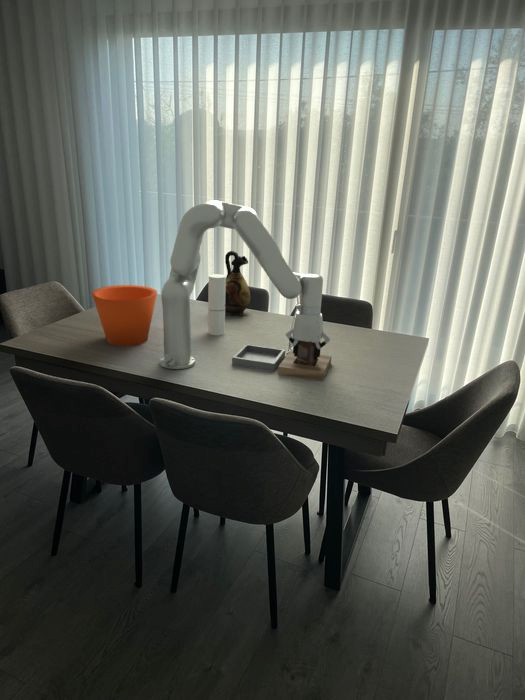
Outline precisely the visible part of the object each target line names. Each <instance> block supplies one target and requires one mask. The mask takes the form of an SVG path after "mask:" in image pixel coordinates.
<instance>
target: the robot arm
mask: <svg viewBox="0 0 525 700" xmlns="http://www.w3.org/2000/svg"><path fill="white" fill-rule="evenodd" d="M217 227H221V228H225V229H226V228H227V229H229V230H230V229H231V230H235V231H236V233H237V234H238V236H239V237H240V238H241V240H242V241H243V243H244V244H245V245H246V247H247V248H248V249H249V251H250V252H251V253H252V255H253V257H254V258H255V259H256V261H257V262H258V264H259V265H260V267H261V268H262V269H263V271H264V272H265V274H266V275H267V276H268V278H269V280H270V281H271V282H272V284H273V285H274V287H275V288H276V289H277V292H278V293H280V295H281V296H282V297H283V298H286V299H289V300H293V299H296V298H297V297H298V296H299V304H295V307H294V308H295V309H297V310H298V311H296V314H295V317H294V324H293V328H292V329H290V330H289V331H287V332H286V333H285V337H287V339H288V340H289V342H290V343H291V344H292V346H293V349H292V351H293V353H294V357H296V356H297V346H298V341H303V342H310V341H311V342H312V343H315V344H316V346H317V348H316V351H315V360H317V358H318V357H320V355H321V349H322V348H323V347H324V346H326V345H327V344H328V343H329V342H330V341H331V338H330V337H329V336H328V335H327V334H326V333H325V332H324V321H323V313H322V312H321V309H322V308H321V307H322V299H323V287H324V285H323V284H324V278H323V276H322V275H320V274H317V273H299V272H294V271H293V270H292V269H291V268H290V267H289V265H288V263H287V262H286V260H285V258H284V257H283V254H282V252H281V249H280V248H279V246H278V244H277V242H276V241H275V239H274V238H273V237H272V235H271V234H270V232H269V231H268V230H267V228H266V227H265V226H264V224H263V222H262V221H261V219H260V218H259V216H258V213H257V212H256V211H255V210H254V209H253V208H251V207H249V206H245V205H240V204H234V203H230V202H225V201H222V200H221V201H220V200H216V199H215V200H213V199H212V200H208V201H206V202H204V203H200V204H198V205H194V206H193V207H191V208H189V209H188V210H187V211H186V212H185V213H184V214H183V216H182V218H181V220H180V221H179V226H178V230H177V234H176V237H175V240H174V245H173V249H172V253H171V256H170V260H169V261H170V262H169V264H170V268H171V269H170V272H169V277H168V279H167V280H166V281H165V283H164V284H163V286H162V288H161V289H162V290H161V306H162V316H163V317H162V319H163V320H162V322H163V357H161V358H160V359H159V365H160V366H161V367H163V368H166V369H171V370H183V369H184V370H185V369H189V368H192V367H193V366H194V365H195V364H196V359H195V358H194V357H193V356H191V352H192V350H191V349H192V348H191V347H192V346H191V345H192V344H191V339H192V338H191V335H192V334H191V331H192V330H191V329H192V328H191V324H192V323H191V305H190V304H191V302H190V301H191V294H192V293H193V291H194V289H195V283H196V280H197V276H198V272H199V267H200V264H201V254H200V248H201V245H202V241H203V237H204V235H205V232H206V231H208V230H209V229H215V228H217ZM322 339H324V340H323V341H322Z"/></svg>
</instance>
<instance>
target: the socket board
mask: <svg viewBox="0 0 525 700" xmlns="http://www.w3.org/2000/svg"><path fill="white" fill-rule="evenodd" d="M296 359H297V356H296V357H294V353H293V349H291V350H289V351H288V353H287V354H286V355H285V357H284V359H283V360H282V361H281V363H280V364H279V365H278V367H277V370H278V371H277V375H279V376H286V377H294V378H300V379H306V380H311V381H319V382H323V381H324V378H325V377H326V376H327V375H326V374H327V373H328V370H329V368H330V366H331V363H332V355H326V354H320V357H318V358H317V360H316V361H315V367H314V366H308V365H301V364H296Z"/></svg>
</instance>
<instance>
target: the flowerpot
mask: <svg viewBox="0 0 525 700" xmlns="http://www.w3.org/2000/svg"><path fill="white" fill-rule="evenodd" d="M91 294H92V298H93V302H94V304H95V308H96V310H97V315H98V318H99V320H100V324H101V326H102V329H103V332H104V335H105V336H104V337H105V340H106V342H107V343H108V344H110V345H113V346H116V347H131V346H133V347H134V346H138V345H142V344H145V343H146V342H147V341H148V338H149V334H150V329H151V323H152V319H153V315H154V310H155V304H156V299H157V296H158V290H156V289H155V288H152V287H148V286H145V285H144V286H143V285H136V284H121V285H120V284H119V285H109V286H104V287H99V288H96V289H94V290H93V291H92V292H91Z"/></svg>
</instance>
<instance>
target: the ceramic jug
mask: <svg viewBox="0 0 525 700" xmlns="http://www.w3.org/2000/svg"><path fill="white" fill-rule="evenodd" d="M232 256H233V257H234V259H233V260H231V262H230V257H232ZM224 259H225V261H224V263H225V267H226V272H227V273H226V275H225V276H226V288H225V315H229V316H242V315H243V314H244V312H245V310H247V308H248V307H249V306H250V303H251V293H250V292H251V291H250V287H249V285H248V283H247V281H246V279H245V276H244V275H243V274H242V271H241V267H242V266H244V265H248V264H249V261H248V259H247V257H246V256H245V255H243V256H241V255H239V254H238V253H237V252H236V251H234V250H230V251H227V253H226V254H225V257H224ZM231 266H233V267H232V268H231Z"/></svg>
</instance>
